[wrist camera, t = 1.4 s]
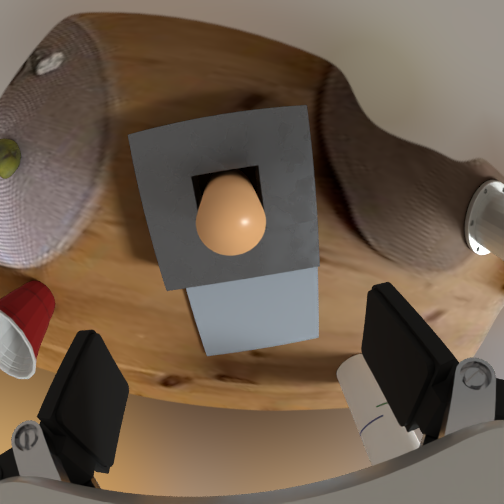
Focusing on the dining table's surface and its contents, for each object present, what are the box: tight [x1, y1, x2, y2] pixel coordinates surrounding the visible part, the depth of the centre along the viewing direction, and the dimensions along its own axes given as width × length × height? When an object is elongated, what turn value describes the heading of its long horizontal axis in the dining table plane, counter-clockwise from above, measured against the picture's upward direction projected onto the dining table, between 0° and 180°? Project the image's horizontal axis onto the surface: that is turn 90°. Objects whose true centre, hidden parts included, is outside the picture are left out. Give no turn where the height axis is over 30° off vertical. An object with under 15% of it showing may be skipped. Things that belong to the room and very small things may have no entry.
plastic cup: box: [0, 280, 55, 379], centre depth 28 cm, size 11×11×12 cm
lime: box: [0, 139, 21, 179], centre depth 23 cm, size 4×5×5 cm
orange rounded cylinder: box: [196, 169, 266, 256], centre depth 26 cm, size 5×5×11 cm
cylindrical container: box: [336, 354, 420, 466], centre depth 33 cm, size 7×7×25 cm
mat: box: [186, 267, 319, 356], centre depth 37 cm, size 16×12×1 cm
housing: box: [128, 105, 320, 291], centre depth 28 cm, size 16×16×5 cm
